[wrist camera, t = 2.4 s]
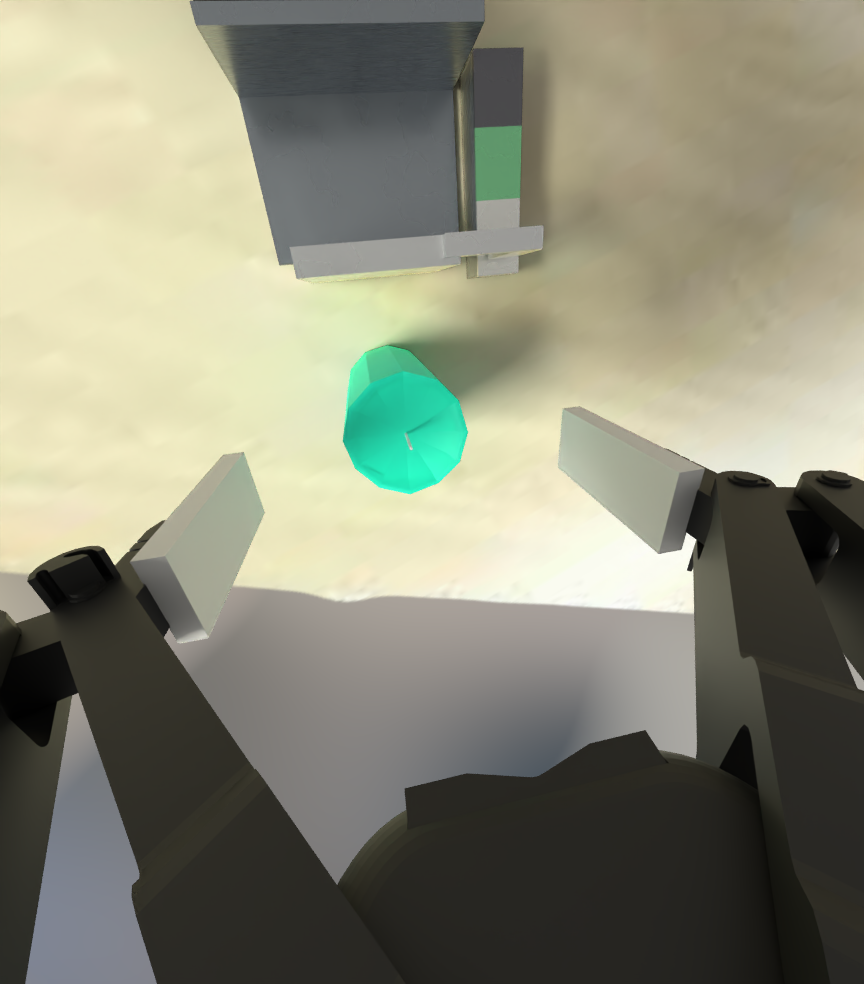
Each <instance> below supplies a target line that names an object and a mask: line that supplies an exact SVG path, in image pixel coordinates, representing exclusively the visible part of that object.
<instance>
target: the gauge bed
mask: <svg viewBox="0 0 864 984" xmlns="http://www.w3.org/2000/svg"><path fill="white" fill-rule="evenodd" d="M190 4H191V8H192V12H193V16H194V20H195V23H196V26H197V28H198V30H199V31H200V33H201V35H202V36H203V38H204V40H205V41H206V43H207V45H208V46H209V48H210V50H211V51H212V53H213V55H214V56H215V58H216V60H217V61H218V63H219V65H220V66H221V68H222V70H223V71H224V73H225V75H226V76H227V78H228V80H229V81H230V83H231V85H232V87H233V88H234V90H235V92H236V93H237V95H238V97H239V99H240V103H241V107H242V111H243V116H244V120H245V124H246V128H247V132H248V136H249V141H250V145H251V149H252V153H253V157H254V161H255V166H256V170H257V174H258V178H259V182H260V186H261V190H262V195H263V199H264V203H265V207H266V211H267V215H268V220H269V224H270V228H271V232H272V236H273V240H274V245H275V249H276V253H277V257H278V261H279V265H291V264H293V260H292V256H291V251H290V247H297V246H309V245H322V244H334V243H347V242H359V241H372V240H384V239H397V238H409V237H421V236H434V235H443V234H444V233H451V232H459V224H458V200H457V176H456V152H455V128H454V104H453V89H454V87H455V85H456V82H457V80H458V78H459V76H460V74H461V71H462V69H463V67H464V65H465V63H466V61H467V58H468V56H469V54H470V52H471V50H472V48H473V45H474V43H475V41H476V39H477V37H478V35H479V32H480V30H481V28H482V26H483V24H484V21H485V19H484V0H253V1H190ZM522 87H523V48H485V49H473V50H472V52H471V55H470V57H469V59H468V61H467V63H466V65H465V68H464V70H463V72H462V74H461V76H460V88H461V117H462V146H463V175H464V204H465V231H476V230H489V229H501V228H514V227H519V222H520V177H521V132H522ZM466 261H467V278H477V277H487V276H498V275H507V274H514V273H518V267H519V256H515V257H511V258H499V259H488V255H477V256H466Z"/></svg>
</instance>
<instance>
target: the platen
mask: <svg viewBox="0 0 864 984" xmlns="http://www.w3.org/2000/svg"><path fill="white" fill-rule="evenodd" d="M543 234H544V227H543V225H539V226H526V227H514V228H501V229H489V230H476V231H464V232H451V233H444V234H443V235H434V236H421V237H409V238H397V239H384V240H372V241H359V242H347V243H334V244H322V245H309V246H297V247H290V251H291V256H292V260H293V265H294V269H295V274H296V278H297V279H299V280H303V281H306V282H309V283H323V282H334V281H345V280H356V279H367V278H378V277H388V276H399V275H410V274H421V273H432V272H437V271H440V270H444V269H447V268H450V267H453V266H456V265H459V264H461V257H466V256H477V255H488V259H499V258H511V257H515V256H519V255H523V254H527V253H531V252H535V251H539V250H542V249H543Z"/></svg>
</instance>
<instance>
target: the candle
mask: <svg viewBox="0 0 864 984" xmlns="http://www.w3.org/2000/svg"><path fill="white" fill-rule="evenodd" d="M467 434H468V431H467V427H466V424H465V421H464V417H463V414H462V410H461V407H460V403H459V400H458V399H457V398H456V397H455V396H454V395H453V394H452V393H451V392H450V391H449V390H448V389H447V388H446V387H445V386H444V385H443V384H442V383H441V382H440V381H439V380H438V379H437V378H436V377H435V376H434V375H433V374H432V373H431V372H430V371H429V370H428V369H427V368H426V367H425V366H424V365H423V364H422V363H421V362H420V361H419V360H418V359H417V358H416V357H415V356H414V355H413V354H412V353H411V352H410V351H409V350H405V349H401V348H397V347H393V346H389V345H386V346H383V347H380V348H377V349H374V350H371V351H368V352H365V353H364V354H363V356H362V357H361V358H360V359H359V361H358V362H357V363H356V364H355V365H354V367H353V368H352V369H351V373H350V380H349V386H348V394H347V404H346V415H345V425H344V436H343V442H344V445H345V447H346V449H347V451H348V453H349V456H350V458H351V460H352V462H353V464H354V467H355V469H357V470H358V471H359V472H360V473H362V474H363V475H364V476H366V477H367V478H368V479H369V480H371V481H372V482H373V483H374V484H376V485H377V486H378V487H380V488H384V489H388V490H393V491H398V492H402V493H407V494H412V493H414V492H417V491H419V490H422V489H424V488H427V487H430V486H432V485H435V484H437V483H439V482H440V481H441V480H442V479H443V478H444V477H445V476H446V475H447V474H448V473H449V472H450V471H451V470H452V469H453V468H454V467H455V466H456V465H457V464H458V463H459V462H460V459H461V456H462V452H463V448H464V445H465V441H466V437H467Z"/></svg>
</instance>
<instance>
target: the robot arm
mask: <svg viewBox="0 0 864 984" xmlns="http://www.w3.org/2000/svg"><path fill="white" fill-rule="evenodd" d="M558 468H559V469H560V470H562V471H563V472H564V473H565V474H566V475H567V476H568V477H570V478H571V479H572V480H573V481H574V482H575V483H577V484H578V485H579V486H580V487H581V488H582V489H584V490H585V491H586V492H587V493H588V494H589V495H591V496H592V497H593V498H594V499H595V500H596V501H598V502H599V503H600V504H601V505H602V506H603V507H605V508H606V509H607V510H608V511H609V512H610V513H612V514H613V515H614V516H615V517H616V518H617V519H619V520H620V521H621V522H622V523H623V524H624V525H626V526H627V527H628V528H629V529H630V530H631V531H633V532H634V533H635V534H636V535H637V536H638V537H640V538H641V539H642V540H643V541H644V542H645V543H647V544H648V545H649V546H650V547H651V548H652V549H654V550H655V551H656V552H657V553H658V554H661V553H666V552H671V551H677V550H681V549H682V546H683V542H684V539H685V536H686V532H687V533H688V534H690V535H691V536H692V537H694V538H695V539H697V540H696V543H695V546H694V549H693V552H692V556H691V559H690V562H689V565H688V569H687V571H692V569H693V572H694V621H695V669H696V715H697V716H696V719H697V754H696V759H695V758H692V757H689V756H685V755H682V754H677V753H671V752H667V751H661V750H658V749H657V747H656V746H655V744H654V743H653V741H652V740H651V738H650V737H649V735H648V734H647V732H646V731H645V730H644V731H640V732H636V733H632V734H628V735H623V736H620V737H615V738H611V739H607V740H603V741H599V742H595V743H590V744H588V745H587V746H585V747H584V748H582V749H581V750H579V751H577V752H576V753H575V754H573V755H571V756H570V757H568V758H567V759H565V760H563V761H562V762H560V763H559V764H557V765H556V766H554V767H553V768H551V769H549V770H548V771H546V772H545V773H543V774H541V775H540V776H537V777H516V776H499V775H483V774H463V775H459V776H455V777H451V778H447V779H442V780H438V781H434V782H430V783H426V784H421V785H418V786H414V787H409V788H405V797H406V798H405V799H406V810H405V811H404V812H402V813H400V814H399V815H397V816H396V817H394V818H393V819H391V820H390V821H389V822H388V823H387V824H385V825H384V826H383V827H382V828H380V829H379V830H378V831H377V832H376V833H375V834H374V835H373V836H372V838H371V839H369V840H368V842H367V843H366V844H365V845H364V846H363V847H362V849H361V850H360V851H359V853H358V854H357V855H356V856H355V858H354V859H353V860H352V862H351V863H350V865H349V867H348V868H347V870H346V871H345V873H344V875H343V876H342V878H341V879H340V881H339V883H338V885H337V884H336V883H335V882H334V880H333V879H332V877H331V876H330V874H329V873H328V871H327V870H326V869H325V867H324V866H323V864H322V863H321V861H320V860H319V858H318V857H317V856H316V854H315V853H314V851H313V850H312V849H311V847H310V846H309V844H308V843H307V841H306V840H305V838H304V837H303V836H302V834H301V833H300V831H299V830H298V828H297V827H296V825H295V824H294V823H293V821H292V820H291V818H290V817H289V816H288V814H287V812H286V811H285V810H284V809H283V807H282V805H281V804H280V802H279V801H278V799H277V798H276V797H275V795H274V794H273V792H272V791H271V789H270V788H269V786H268V785H267V784H266V782H265V781H264V779H263V778H262V777H261V775H260V774H259V773H258V771H257V770H256V769H254V768H253V767H252V765H251V764H250V762H249V761H248V760H247V758H246V757H245V755H244V754H243V752H242V751H241V749H240V748H239V746H238V745H237V743H236V742H235V741H234V739H233V738H232V736H231V735H230V733H229V732H228V730H227V729H226V728H225V726H224V725H223V723H222V722H221V720H220V719H219V717H218V716H217V715H216V713H215V712H214V710H213V709H212V707H211V706H210V704H209V703H208V701H207V700H206V699H205V697H204V696H203V694H202V693H201V691H200V690H199V688H198V687H197V685H196V684H195V683H194V681H193V680H192V678H191V677H190V675H189V674H188V672H187V671H186V670H185V668H184V667H183V665H182V664H181V662H180V661H179V660H178V658H177V656H176V655H175V654H174V652H173V651H172V649H171V648H170V646H169V645H168V643H167V642H166V640H165V639H164V636H165V634H166V633H167V631H168V629H169V628H170V630H171V632H172V633H173V635H174V637H175V638H176V640H177V642H178V643H185V642H190V641H195V640H201V639H206V638H209V637H210V634H211V632H212V629H213V628H214V625H215V623H216V621H217V619H218V616H219V614H220V612H221V610H222V607H223V605H224V603H225V601H226V598H227V596H228V594H229V592H230V590H231V587H232V585H233V583H234V581H235V578H236V576H237V574H238V572H239V569H240V567H241V565H242V563H243V560H244V558H245V556H246V554H247V551H248V549H249V547H250V545H251V542H252V540H253V538H254V536H255V533H256V531H257V529H258V527H259V524H260V522H261V520H262V518H263V515H264V513H265V512H264V509H263V506H262V503H261V500H260V498H259V495H258V492H257V489H256V486H255V483H254V480H253V478H252V475H251V472H250V469H249V466H248V463H247V460H246V458H245V455H244V452H241V453H234V454H227V455H223V456H222V457H221V458H220V459H219V460H218V461H217V462H216V464H215V465H214V466H213V467H212V468H211V469H210V470H209V472H208V473H207V474H206V475H205V476H204V477H203V478H202V480H201V481H200V482H199V483H198V484H197V485H196V487H195V488H194V489H193V490H192V491H191V492H190V493H189V495H188V496H187V497H186V498H185V499H184V500H183V501H182V503H181V504H180V505H179V506H178V507H177V508H176V509H175V511H174V512H173V513H172V514H171V515H170V516H169V517H168V519H167V520H164V521H161V522H160V523H158V524H157V525H155V526H153V527H152V528H150V529H149V530H147V531H146V532H145V533H144V535H143V536H142V537H141V538H140V539H139V540H138V541H137V542H138V543H135V544H134V545H133V547H132V548H131V549H130V552H127V553H126V554H125V555H124V556H123V557H122V559H121V560H120V561H119V562H118V563H117V564H116V565H114V564H113V562H112V561H111V559H110V557H109V556H108V554H107V553H106V551H105V549H104V548H102V547H100V546H88V547H83V548H78V549H75V550H72V551H69V552H66V553H63V554H61V555H59V556H56V557H54V558H52V559H50V560H48V561H47V562H45V563H43V564H42V565H40V566H39V567H37V568H36V569H35V570H34V571H33V572H32V573H31V574H30V575H29V577H28V583H29V584H30V585H31V586H32V588H33V589H34V590H35V591H36V593H37V594H38V595H39V596H40V598H41V599H42V600H43V601H44V603H45V604H46V605H47V607H48V608H49V609H50V612H49V613H46V614H43V615H40V616H37V617H34V618H31V619H28V620H25V621H22V622H19V623H15V622H14V621H13V620H12V619H11V617H10V616H9V615H8V614H7V613H6V612H4V611H1V610H0V984H25V981H26V975H27V969H28V963H29V956H30V950H31V944H32V938H33V932H34V926H35V920H36V914H37V907H38V901H39V895H40V889H41V883H42V876H43V871H44V864H45V858H46V852H47V845H48V840H49V834H50V828H51V822H52V815H53V809H54V803H55V797H56V790H57V785H58V778H59V772H60V766H61V760H62V754H63V748H64V742H65V736H66V730H67V723H68V717H69V711H70V705H71V699H72V695H74V694H77V693H79V696H80V699H81V702H82V705H83V707H84V711H85V713H86V716H87V719H88V722H89V725H90V728H91V731H92V734H93V736H94V740H95V743H96V745H97V748H98V751H99V754H100V757H101V760H102V763H103V766H104V769H105V772H106V775H107V777H108V780H109V783H110V786H111V789H112V792H113V795H114V798H115V801H116V804H117V806H118V809H119V812H120V815H121V818H122V821H123V824H124V827H125V830H126V833H127V836H128V839H129V842H130V845H131V847H132V850H133V853H134V856H135V859H136V862H137V865H138V869H139V873H140V877H139V879H138V880H137V881H136V882H135V883H134V884H133V885H132V901H133V905H134V909H135V914H136V917H137V921H138V924H139V927H140V930H141V934H142V937H143V940H144V943H145V946H146V950H147V953H148V956H149V959H150V962H151V966H152V969H153V972H154V975H155V978H156V982H157V984H864V691H862V690H859V689H858V688H857V686H856V684H855V681H854V679H853V677H852V674H851V672H850V669H849V667H848V664H847V662H846V659H845V657H844V655H845V656H846V657H847V659H848V660H849V661H850V663H851V664H852V665H853V667H854V668H855V669H856V671H857V672H858V673H859V675H860V676H861V677H862V679H863V680H864V481H862V480H860V479H858V478H855V477H852V476H849V475H848V474H846V473H842V472H837V471H831V470H829V471H807V472H803V473H802V475H801V477H800V479H799V481H798V483H797V486H796V487H776V485H775V484H774V483H773V482H772V481H771V480H769V479H768V478H765V477H763V476H760V475H756V474H753V473H749V472H742V471H725V472H721V473H719V474H717V473H715V472H713V471H711V470H709V469H707V468H705V467H703V466H701V465H699V464H697V463H695V462H693V461H690V460H689V459H687V458H685V457H683V456H680V455H679V454H677V453H675V452H673V451H671V450H669V449H665V448H663V447H661V446H659V445H657V444H655V443H653V442H651V441H649V440H647V439H645V438H642V437H640V436H638V435H636V434H634V433H632V432H630V431H628V430H626V429H624V428H622V427H620V426H618V425H616V424H614V423H612V422H610V421H608V420H606V419H604V418H602V417H600V416H598V415H596V414H594V413H592V412H590V411H588V410H586V409H584V408H582V407H580V406H579V407H572V408H564V409H563V412H562V424H561V436H560V448H559V460H558ZM837 549H838V550H837ZM836 551H837V552H836ZM843 653H844V654H843Z"/></svg>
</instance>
